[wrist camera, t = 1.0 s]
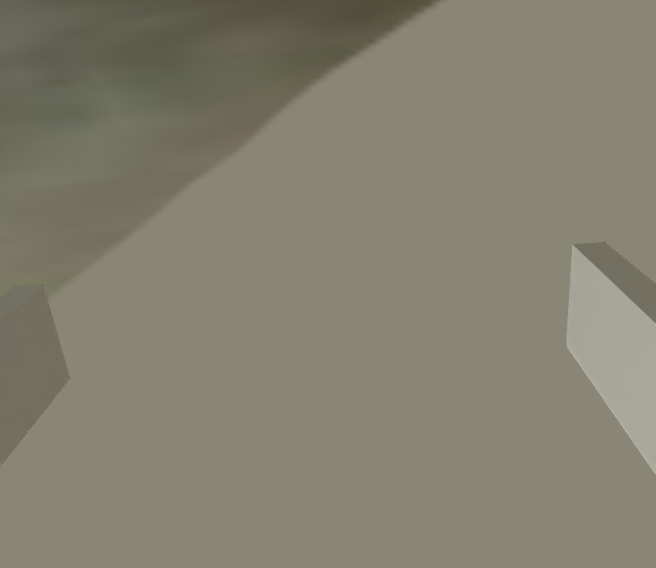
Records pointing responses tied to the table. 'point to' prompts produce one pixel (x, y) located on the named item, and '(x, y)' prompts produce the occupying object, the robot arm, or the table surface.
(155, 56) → the table surface
